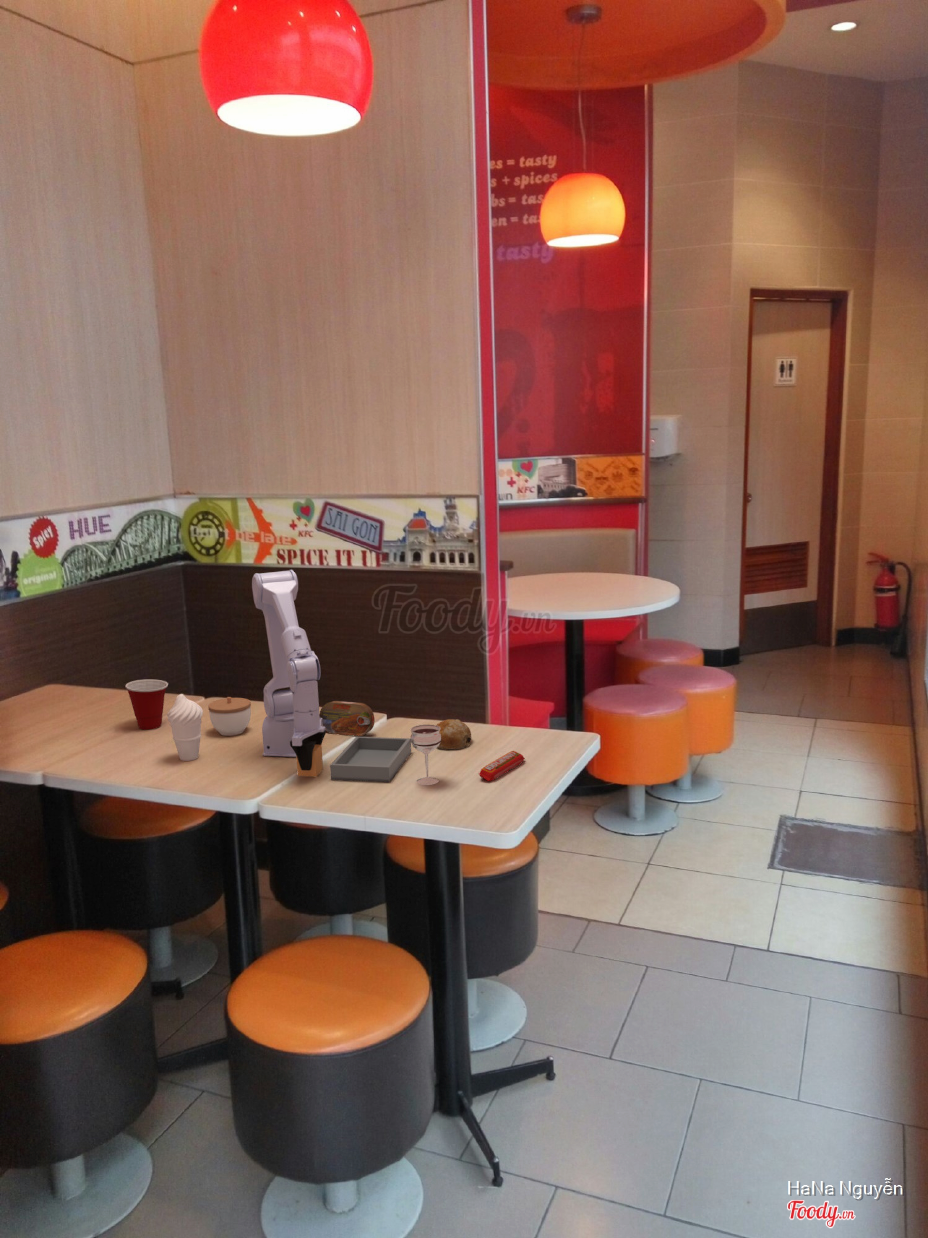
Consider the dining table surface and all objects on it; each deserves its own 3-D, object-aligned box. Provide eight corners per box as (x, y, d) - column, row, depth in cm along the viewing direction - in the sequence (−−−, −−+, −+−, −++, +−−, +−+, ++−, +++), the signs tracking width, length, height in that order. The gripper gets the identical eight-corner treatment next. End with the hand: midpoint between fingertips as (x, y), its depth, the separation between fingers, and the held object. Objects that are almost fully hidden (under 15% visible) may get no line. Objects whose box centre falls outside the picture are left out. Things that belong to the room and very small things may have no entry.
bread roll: (459, 765, 235) (472, 737, 233) (421, 747, 236) (434, 718, 234) (467, 751, 245) (480, 724, 243) (430, 733, 246) (443, 706, 244)
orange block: (297, 775, 222) (295, 750, 220) (304, 768, 226) (302, 744, 225) (316, 776, 221) (314, 751, 220) (323, 769, 225) (321, 744, 224)
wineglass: (423, 773, 220) (420, 722, 218) (448, 778, 217) (446, 726, 215) (406, 783, 215) (403, 731, 212) (432, 788, 211) (430, 736, 209)
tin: (319, 732, 252) (317, 701, 250) (325, 729, 255) (323, 698, 253) (371, 738, 246) (369, 706, 244) (377, 734, 249) (375, 702, 247)
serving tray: (330, 779, 218) (330, 765, 218) (357, 750, 237) (356, 736, 237) (389, 782, 216) (388, 767, 215) (411, 752, 235) (410, 738, 234)
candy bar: (490, 785, 213) (490, 772, 213) (476, 782, 215) (475, 769, 215) (527, 762, 226) (527, 750, 226) (513, 759, 228) (513, 747, 228)
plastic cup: (164, 732, 256) (160, 688, 253) (123, 733, 256) (119, 689, 253) (177, 719, 266) (173, 677, 264) (137, 720, 266) (133, 678, 264)
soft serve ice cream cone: (214, 754, 238) (208, 691, 234) (191, 766, 230) (185, 700, 227) (187, 750, 241) (181, 688, 238) (163, 761, 234) (157, 697, 230)
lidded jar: (217, 741, 247) (214, 705, 245) (206, 730, 256) (202, 696, 254) (258, 733, 252) (255, 698, 250) (245, 723, 262) (243, 689, 260)
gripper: (312, 719, 212) (315, 778, 215) (333, 700, 226) (336, 755, 229) (281, 718, 214) (285, 776, 217) (304, 699, 228) (308, 754, 231)
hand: (310, 765), depth 223 cm, fingers closed on orange block, 4 cm apart
